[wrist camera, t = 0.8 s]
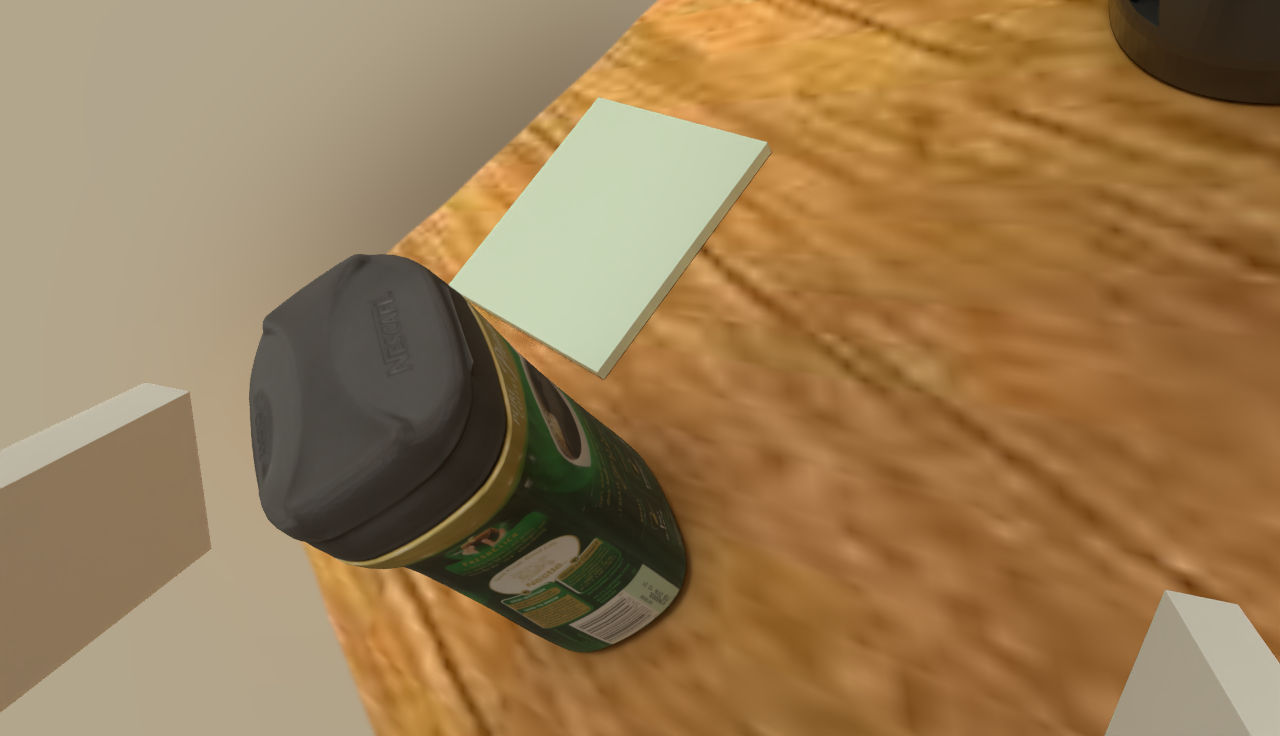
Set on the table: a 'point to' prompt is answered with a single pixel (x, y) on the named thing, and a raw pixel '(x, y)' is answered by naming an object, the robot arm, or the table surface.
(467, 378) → the coffee jar
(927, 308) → the table surface
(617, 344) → the mat
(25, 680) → the robot arm
